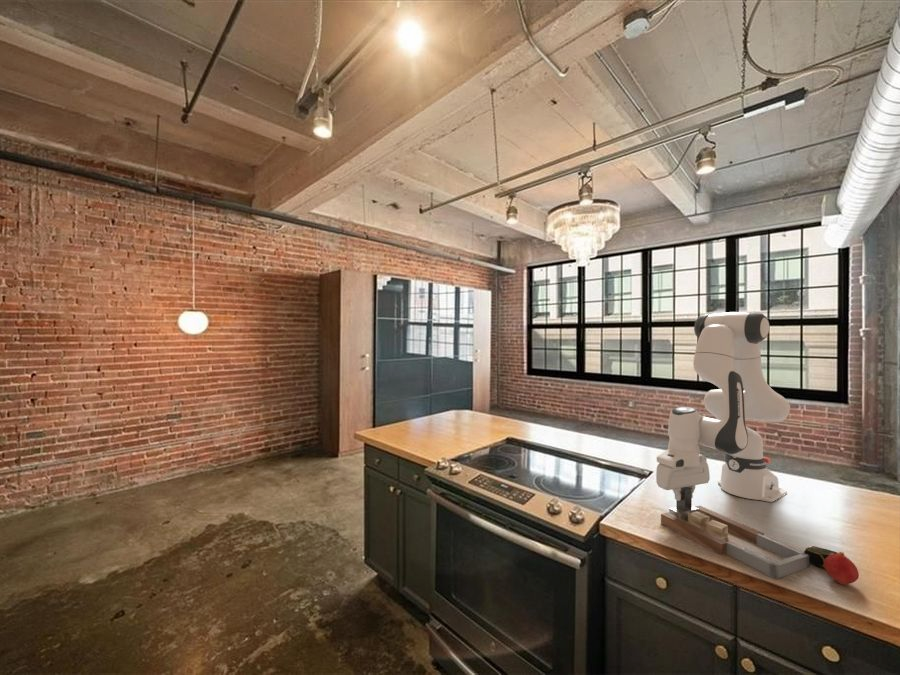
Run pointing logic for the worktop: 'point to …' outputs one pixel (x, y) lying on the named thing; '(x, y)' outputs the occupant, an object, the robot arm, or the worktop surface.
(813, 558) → the tape measure
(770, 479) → the robot arm
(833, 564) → the onion
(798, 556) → the tray
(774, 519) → the worktop surface
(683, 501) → the grey t-shaped block
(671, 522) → the slot rails
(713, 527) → the chip
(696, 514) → the tan wooden cube
